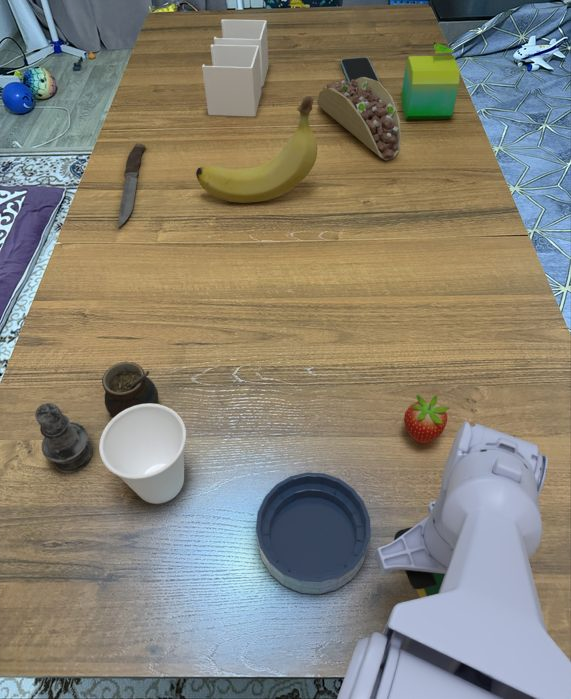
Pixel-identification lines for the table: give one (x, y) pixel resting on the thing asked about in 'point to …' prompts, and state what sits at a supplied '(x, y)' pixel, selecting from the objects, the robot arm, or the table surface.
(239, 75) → the storage container
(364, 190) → the table surface
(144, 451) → the cup
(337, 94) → the taco
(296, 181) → the banana
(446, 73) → the leaf-topped green cube
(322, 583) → the bowl
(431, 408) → the fruit
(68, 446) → the chess piece
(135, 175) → the knife
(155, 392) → the mate gourd
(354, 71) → the smartphone
